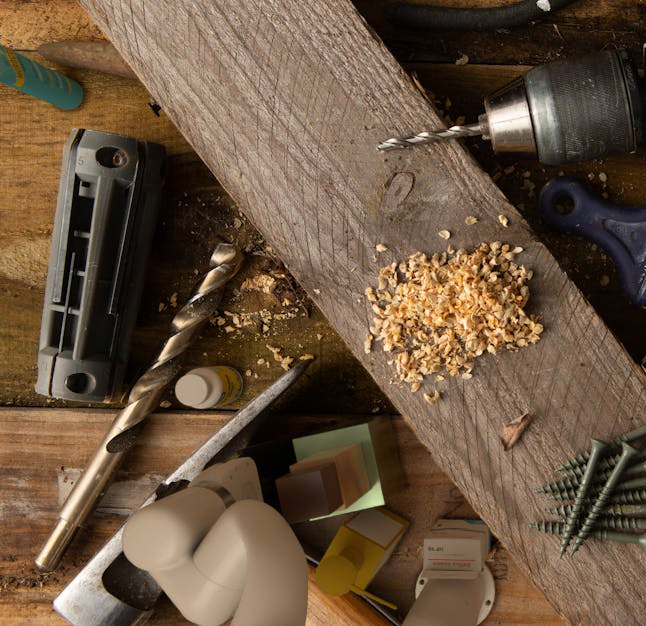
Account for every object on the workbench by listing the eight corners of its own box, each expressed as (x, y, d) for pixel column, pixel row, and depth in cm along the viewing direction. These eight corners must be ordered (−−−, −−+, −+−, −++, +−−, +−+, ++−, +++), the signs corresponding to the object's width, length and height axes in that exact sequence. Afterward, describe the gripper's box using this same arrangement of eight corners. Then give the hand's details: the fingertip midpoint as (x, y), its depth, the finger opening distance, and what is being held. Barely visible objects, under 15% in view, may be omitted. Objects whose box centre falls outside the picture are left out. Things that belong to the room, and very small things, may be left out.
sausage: (133, 51, 119) (154, 34, 124) (16, 34, 119) (41, 18, 124) (145, 89, 124) (165, 71, 128) (32, 73, 124) (56, 56, 128)
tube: (94, 106, 126) (7, 67, 107) (67, 122, 126) (-25, 86, 107) (69, 66, 126) (-22, 20, 107) (43, 82, 126) (-54, 39, 107)
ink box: (491, 519, 127) (479, 545, 112) (490, 550, 127) (478, 580, 112) (437, 518, 127) (419, 544, 112) (437, 549, 127) (418, 579, 112)
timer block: (343, 504, 102) (330, 515, 96) (300, 514, 102) (284, 525, 96) (334, 461, 102) (320, 470, 96) (291, 471, 102) (274, 479, 96)
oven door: (314, 503, 129) (240, 530, 119) (299, 431, 129) (223, 451, 119) (333, 502, 126) (258, 529, 116) (317, 428, 126) (241, 449, 116)
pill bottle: (240, 407, 126) (207, 415, 115) (201, 399, 126) (165, 407, 115) (248, 369, 126) (216, 373, 115) (209, 361, 126) (174, 365, 115)
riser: (371, 489, 114) (346, 509, 102) (330, 499, 114) (300, 519, 102) (360, 442, 114) (335, 456, 102) (319, 451, 114) (289, 466, 102)
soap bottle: (417, 579, 127) (380, 637, 103) (348, 539, 127) (295, 589, 103) (439, 539, 127) (407, 588, 103) (370, 500, 127) (323, 540, 103)
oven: (337, 501, 127) (309, 521, 114) (321, 427, 127) (292, 439, 114) (405, 486, 127) (385, 504, 114) (389, 412, 127) (367, 423, 114)
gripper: (245, 566, 98) (297, 528, 116) (222, 448, 98) (278, 428, 117) (185, 579, 98) (247, 538, 116) (161, 460, 98) (227, 438, 116)
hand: (262, 483), depth 116 cm, fingers closed
